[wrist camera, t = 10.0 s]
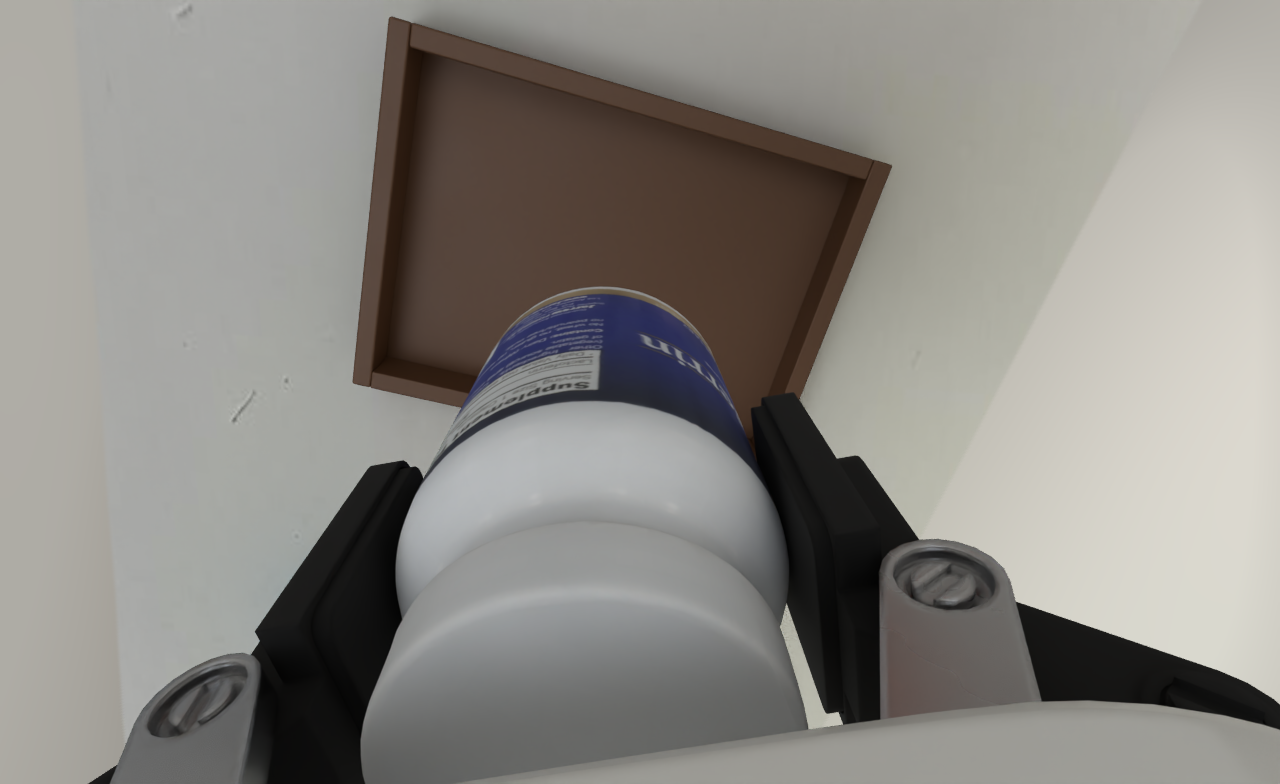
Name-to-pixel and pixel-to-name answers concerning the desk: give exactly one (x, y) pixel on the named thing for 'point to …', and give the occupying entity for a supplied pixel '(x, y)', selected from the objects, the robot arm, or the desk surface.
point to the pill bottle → (585, 560)
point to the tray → (591, 218)
